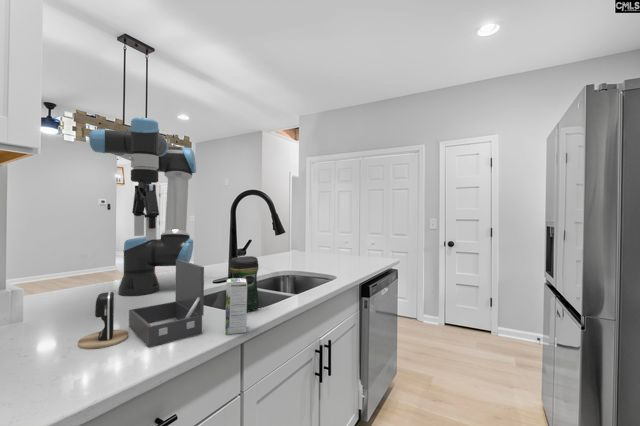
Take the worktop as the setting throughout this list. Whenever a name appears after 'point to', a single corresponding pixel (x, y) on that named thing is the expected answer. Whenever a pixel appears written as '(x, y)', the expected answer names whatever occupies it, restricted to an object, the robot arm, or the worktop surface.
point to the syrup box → (236, 306)
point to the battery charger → (105, 314)
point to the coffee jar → (247, 277)
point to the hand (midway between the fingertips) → (144, 237)
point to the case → (173, 310)
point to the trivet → (94, 343)
